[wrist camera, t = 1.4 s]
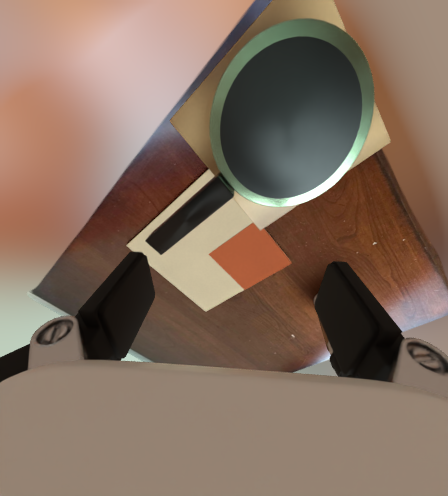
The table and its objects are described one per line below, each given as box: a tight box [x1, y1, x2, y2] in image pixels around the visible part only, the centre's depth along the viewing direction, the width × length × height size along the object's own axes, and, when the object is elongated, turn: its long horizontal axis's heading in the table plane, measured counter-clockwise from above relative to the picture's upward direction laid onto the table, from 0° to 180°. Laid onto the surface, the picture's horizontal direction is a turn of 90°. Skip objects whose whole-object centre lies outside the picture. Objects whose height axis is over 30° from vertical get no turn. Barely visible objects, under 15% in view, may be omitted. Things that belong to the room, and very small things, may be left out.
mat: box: [127, 169, 292, 311], centre depth 38 cm, size 22×22×1 cm
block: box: [170, 0, 391, 231], centre depth 21 cm, size 12×12×14 cm
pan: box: [145, 18, 374, 255], centre depth 15 cm, size 18×10×4 cm, turn 130°
